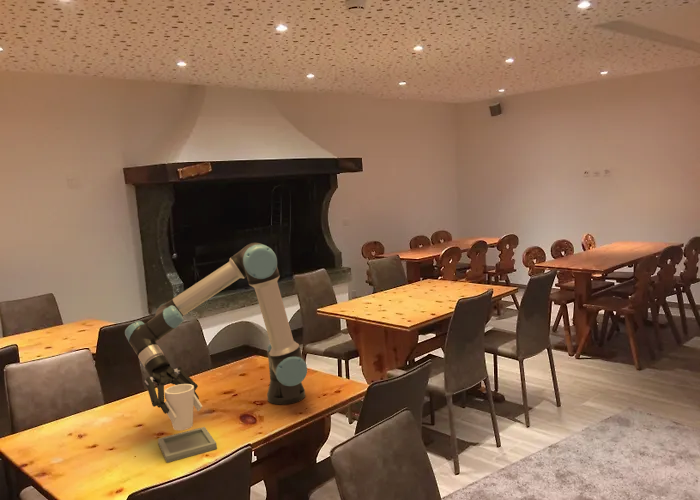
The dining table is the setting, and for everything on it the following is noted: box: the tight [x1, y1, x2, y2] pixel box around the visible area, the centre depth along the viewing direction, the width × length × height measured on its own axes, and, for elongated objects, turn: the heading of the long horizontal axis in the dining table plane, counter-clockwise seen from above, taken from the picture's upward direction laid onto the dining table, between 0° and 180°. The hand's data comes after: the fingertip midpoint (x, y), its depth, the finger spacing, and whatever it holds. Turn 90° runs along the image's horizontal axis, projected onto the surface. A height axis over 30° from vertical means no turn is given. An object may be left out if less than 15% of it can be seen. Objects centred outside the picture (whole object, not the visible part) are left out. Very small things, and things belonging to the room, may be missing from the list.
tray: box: [157, 426, 218, 464], centre depth 191 cm, size 16×16×2 cm
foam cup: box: [164, 384, 194, 431], centre depth 189 cm, size 10×9×13 cm
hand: (187, 414), depth 188 cm, fingers closed on foam cup, 9 cm apart
